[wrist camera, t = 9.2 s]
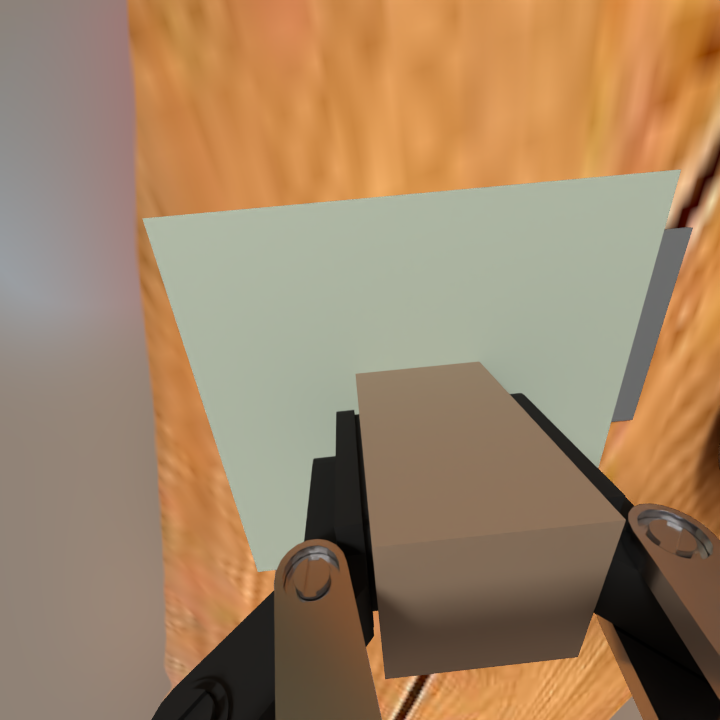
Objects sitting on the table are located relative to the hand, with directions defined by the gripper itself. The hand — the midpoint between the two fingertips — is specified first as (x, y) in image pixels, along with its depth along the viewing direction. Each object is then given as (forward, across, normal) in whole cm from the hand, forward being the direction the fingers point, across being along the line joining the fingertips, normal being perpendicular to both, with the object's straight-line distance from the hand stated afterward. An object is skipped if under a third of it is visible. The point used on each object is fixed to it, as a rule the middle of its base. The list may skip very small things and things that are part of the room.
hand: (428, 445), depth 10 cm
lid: (+2, 0, 0) cm, 2 cm away
